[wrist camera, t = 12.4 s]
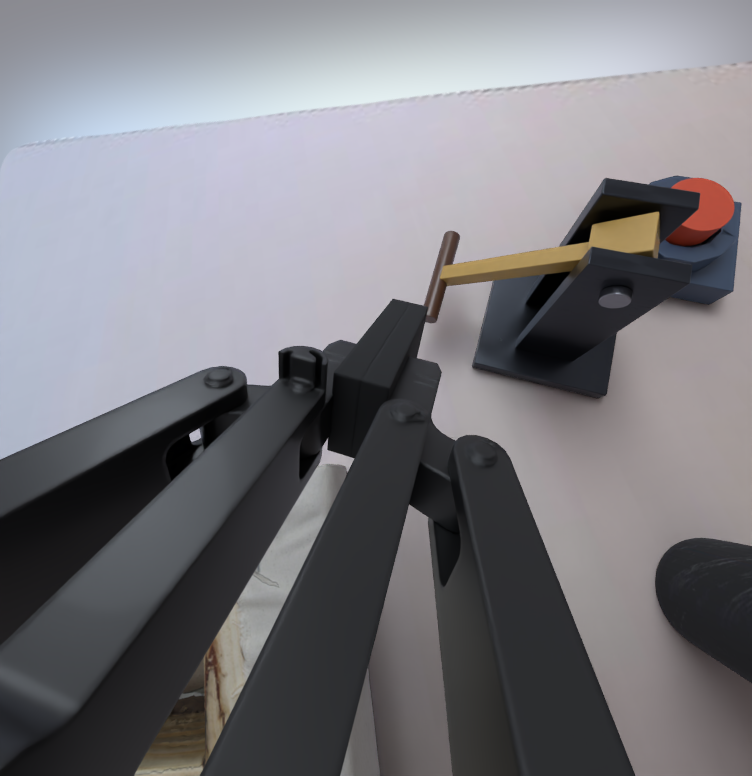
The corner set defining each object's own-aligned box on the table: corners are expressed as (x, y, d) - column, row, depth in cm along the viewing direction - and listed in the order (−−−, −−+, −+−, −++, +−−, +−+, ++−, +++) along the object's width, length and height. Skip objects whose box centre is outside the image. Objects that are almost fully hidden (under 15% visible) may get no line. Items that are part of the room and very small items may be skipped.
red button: (716, 201, 26) (737, 183, 24) (710, 251, 25) (732, 236, 24) (653, 192, 27) (670, 173, 25) (646, 240, 26) (662, 224, 24)
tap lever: (429, 327, 26) (412, 311, 24) (452, 247, 27) (437, 227, 26) (648, 320, 17) (646, 295, 16) (665, 204, 19) (665, 169, 17)
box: (348, 458, 28) (-19, 519, 30) (327, 456, 21) (-164, 538, 22) (397, 814, 23) (-54, 867, 24) (393, 988, 15) (-261, 1049, 17)
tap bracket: (471, 367, 29) (519, 288, 16) (495, 272, 30) (554, 136, 18) (598, 398, 27) (757, 338, 15) (615, 297, 29) (770, 167, 16)
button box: (718, 221, 30) (764, 184, 26) (708, 305, 28) (757, 278, 24) (595, 201, 31) (621, 163, 27) (580, 279, 30) (605, 250, 26)
